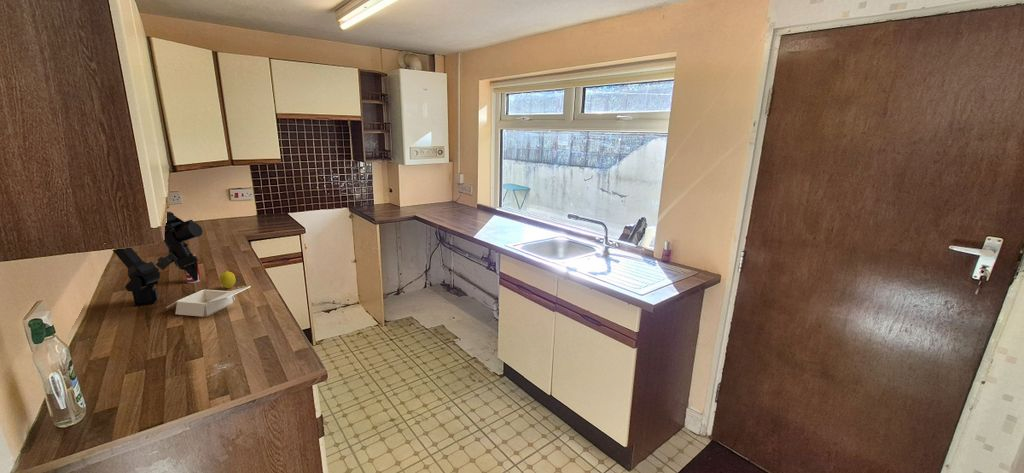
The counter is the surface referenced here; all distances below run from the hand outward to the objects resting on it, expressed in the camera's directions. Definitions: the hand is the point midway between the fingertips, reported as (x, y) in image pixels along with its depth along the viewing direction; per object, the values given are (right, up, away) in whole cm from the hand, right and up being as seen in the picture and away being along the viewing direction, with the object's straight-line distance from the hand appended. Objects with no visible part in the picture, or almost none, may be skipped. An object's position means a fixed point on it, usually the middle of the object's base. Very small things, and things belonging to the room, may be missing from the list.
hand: (196, 280), depth 161 cm
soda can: (-20, -3, +25) cm, 32 cm away
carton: (+3, -10, -1) cm, 11 cm away
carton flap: (+11, -6, -4) cm, 14 cm away
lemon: (0, -5, +18) cm, 19 cm away
